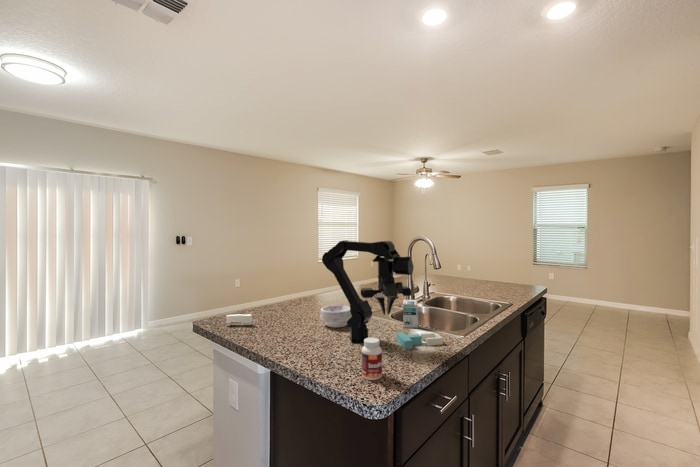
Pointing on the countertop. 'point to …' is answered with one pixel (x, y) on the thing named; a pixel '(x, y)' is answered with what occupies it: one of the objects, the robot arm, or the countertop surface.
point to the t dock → (432, 338)
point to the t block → (408, 340)
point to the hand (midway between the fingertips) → (386, 314)
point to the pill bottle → (371, 359)
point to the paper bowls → (335, 315)
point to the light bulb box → (410, 313)
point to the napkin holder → (239, 318)
